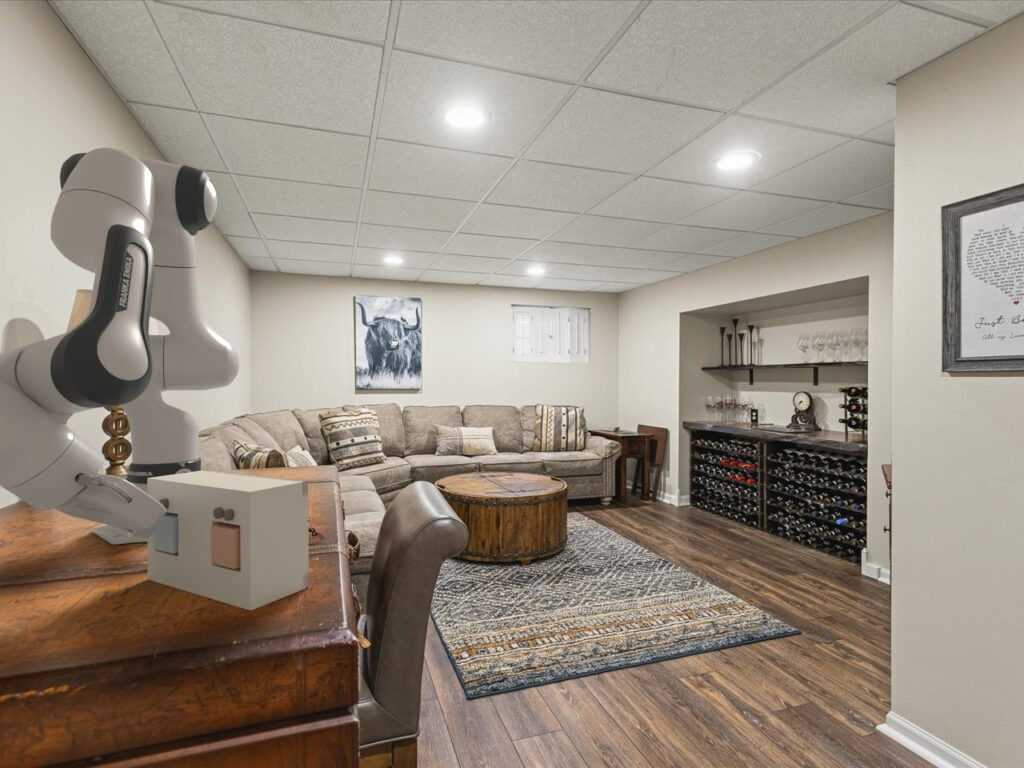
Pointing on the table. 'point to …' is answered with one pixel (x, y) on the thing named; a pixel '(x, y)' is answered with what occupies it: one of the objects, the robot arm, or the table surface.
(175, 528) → the button one
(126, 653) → the table surface
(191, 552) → the block
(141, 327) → the robot arm
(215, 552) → the button two
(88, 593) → the table surface
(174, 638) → the table surface
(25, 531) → the table surface
